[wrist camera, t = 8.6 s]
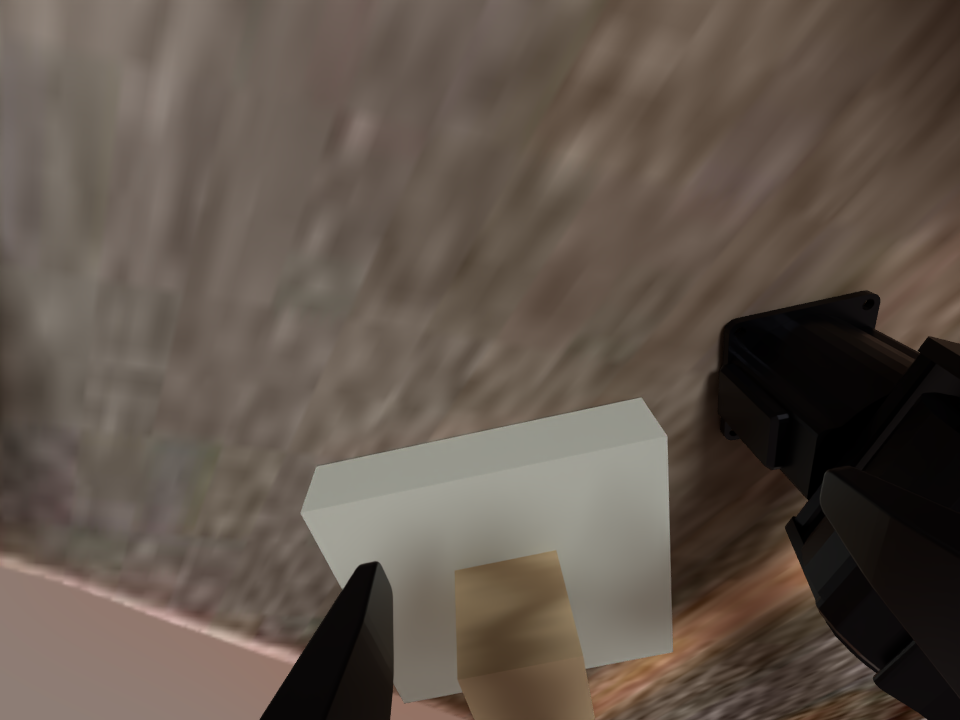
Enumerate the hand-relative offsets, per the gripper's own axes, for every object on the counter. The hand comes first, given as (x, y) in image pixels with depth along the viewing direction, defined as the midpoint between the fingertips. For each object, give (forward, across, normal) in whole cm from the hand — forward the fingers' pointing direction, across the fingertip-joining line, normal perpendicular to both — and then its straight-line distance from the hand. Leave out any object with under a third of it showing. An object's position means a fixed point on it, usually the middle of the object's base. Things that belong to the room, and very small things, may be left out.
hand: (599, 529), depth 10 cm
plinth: (+12, +3, +14) cm, 19 cm away
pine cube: (+9, +3, +14) cm, 17 cm away
